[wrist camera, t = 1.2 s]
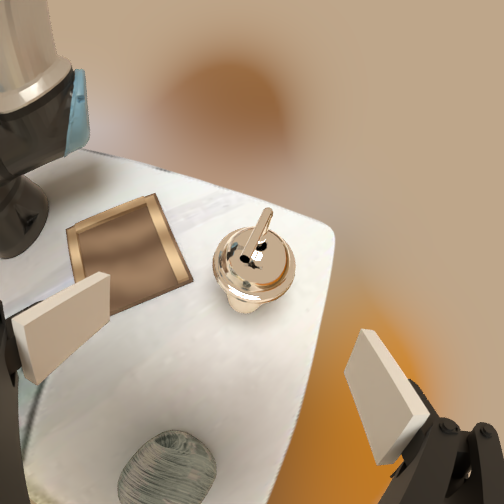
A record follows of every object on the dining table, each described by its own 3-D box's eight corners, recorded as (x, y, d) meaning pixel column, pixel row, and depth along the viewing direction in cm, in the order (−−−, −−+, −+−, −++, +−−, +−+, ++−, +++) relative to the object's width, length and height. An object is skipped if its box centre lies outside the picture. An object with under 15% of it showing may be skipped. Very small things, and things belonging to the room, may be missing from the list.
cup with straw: (288, 301, 38) (350, 212, 21) (238, 344, 34) (265, 282, 17) (247, 257, 40) (274, 147, 23) (196, 294, 37) (183, 193, 19)
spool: (156, 402, 26) (165, 458, 17) (222, 437, 29) (251, 488, 20) (102, 467, 23) (99, 521, 14) (164, 494, 26) (177, 546, 16)
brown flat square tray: (68, 233, 38) (63, 226, 37) (156, 197, 44) (154, 189, 42) (88, 325, 32) (82, 320, 30) (193, 281, 38) (192, 275, 36)
